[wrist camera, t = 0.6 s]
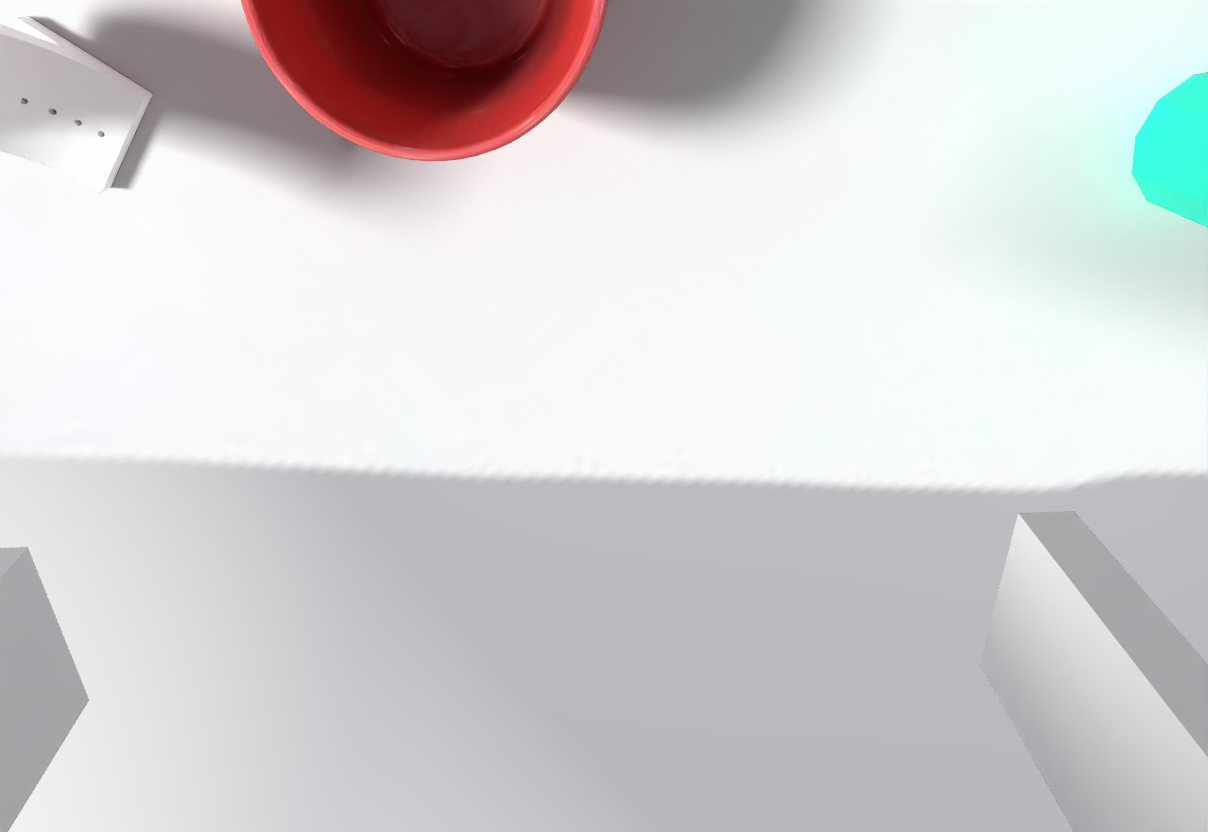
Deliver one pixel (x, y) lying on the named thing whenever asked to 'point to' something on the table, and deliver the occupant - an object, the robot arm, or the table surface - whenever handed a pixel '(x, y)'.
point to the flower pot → (427, 67)
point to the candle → (1176, 151)
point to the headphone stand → (65, 105)
